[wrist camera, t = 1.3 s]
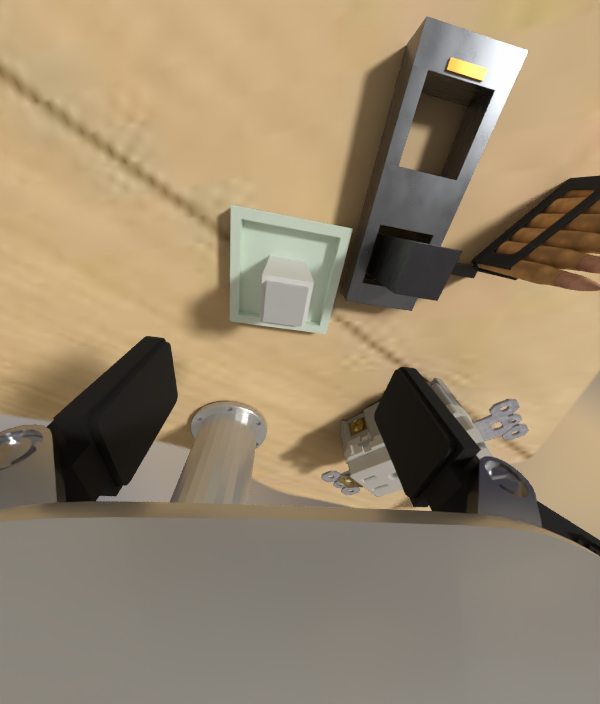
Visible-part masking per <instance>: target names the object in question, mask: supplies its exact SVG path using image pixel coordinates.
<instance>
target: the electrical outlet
mask: <svg viewBox="0 0 600 704" xmlns="http://www.w3.org/2000/svg"><path fill="white" fill-rule="evenodd" d="M426 382H427V381H426ZM427 383H428V384H429V386H430V387H431V388H432V389H433V391H434V392H435V393H436V394H437V396H438V397H439V398H440V399H441V401H442V402H443V403H444V404H445V405H446V407H447V408H448V409H449V410H450V412H451V413H452V414H453V415H454V417H455V418H456V419H457V420H458V422H459V423H460V424H461V425H462V426H463V428H464V429H465V430H466V431H467V433H468V434H469V435H470V436H471V438H472V439H473V440H474V441H475V443H476V444H477V445H478V446H479V448H480V449H481V450H480V451H479V452H478V454H477V457H478V458H479V459H481V458H483V457H484V456H491V457H493V455H492V453H491V452H490V450H489V448H488V446H487V445H486V443H485V441H488V440H491V439H494V438H496V437H499V436H502V437H503V438H504V439H506V440H512V439H515V438H518V437H520V436H523V435H525V434H526V433H527V432H528V431H529V430H528V428H527V426H526V425H525V424H518V423H519V422H520V421H521V420H522V418H521V416H520V415H519V414H513V413H514V412H515V411H516V410H517V409H518V408H519V405H518V402H517V400H516V399H506V400H504V401H501V402H499V403H496V404H494V405H493V406H492V407H491V408H490V409H489V411H490V413H491V415H489V416H487V417H484V418H482V419H479V420H476V421H473V420H472V419H471V418H470V417H469V415H468V414H467V413H466V411H465V410H464V409H463V407H462V406H461V405H460V404H459V402H458V401H457V400H456V398H455V397H454V396H453V395H452V393H451V392H450V391H449V389H448V388H447V387H446V386H445V384H444V383H443V382H442V381H441V380H440V379H438V378H434V379H433V381H432V382H427ZM378 405H379V402H378V403H376V404H374V405H372V406H370V407H368V408H366V409H364V411H363V413H361V414H359V415H357V416H355V417H353V418H351V419H349V420H347V421H343V420H342V421H341V427H342V430H341V437H342V443H343V449H344V455H345V460H346V463H347V464H348V467H349V471H346V472H344V473H341V474H340V473H338V472H337V471H328V472H326V473H323V474H322V477H321V478H322V479H323V480H324V481H326V482H333V481H334V486H335V487H336V488H342V490H341V492H342V493H344V494H345V495H352V494H355V493H358V492H359V491H360V488H359V487H364V488H366V489H367V490H368V491H370V492H371V493H372V494H374V495H375V496H377V497H380V496H383V495H386V494H389V493H392V492H395V491H398V490H401V489H403V488H402V485H401V483H400V480H399V478H398V475H397V473H396V471H395V468H394V466H393V463H392V461H391V459H390V456H389V454H388V451H387V449H386V446H385V444H384V442H383V439H382V437H381V434H380V432H379V430H378V427H377V425H376V422H375V420H374V413H375V411H376V409H377V407H378ZM504 406H508V407H507V408H506V409H504V410H500V409H501V408H502V407H504ZM511 413H512V414H511ZM509 414H510V415H509ZM512 420H514V421H512ZM497 422H501V423H502V426H501V427H499V428H495V429H492V428H491V425H492V424H494V423H497ZM514 431H518V432H516V433H514V434H511V433H512V432H514ZM330 475H333V477H328V476H330ZM348 479H349V480H350V481H352V482H349V483H348V482H346V480H348ZM348 490H353V491H348Z"/></svg>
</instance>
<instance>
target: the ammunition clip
mask: <svg viewBox="0 0 600 704" xmlns="http://www.w3.org/2000/svg"><path fill="white" fill-rule="evenodd" d="M586 253H596V254H600V176H590V177H579V178H570V179H568V180H567V181H566V182H565V183H564V184H562V185H561V186H560V187H559V188H558V189H556V190H555V191H554V192H553V193H552V194H550V195H549V196H548V197H547V198H546V199H544V200H543V201H542V202H541V203H540V204H538V205H537V206H536V207H535V208H534V209H532V210H531V211H530V212H529V213H528V214H526V215H525V216H524V217H523V218H522V219H520V220H519V221H518V222H517V223H516V224H514V225H513V226H512V227H511V228H510V229H508V230H507V231H506V232H505V233H504V234H502V235H501V236H500V237H499V238H498V239H496V240H495V241H494V242H493V243H492V244H490V245H489V246H488V247H487V248H486V249H484V250H483V251H482V252H481V253H480V254H478V255H477V256H476V257H475V258H474V259H473V260H472V262H473V264H474V265H475V267H478V268H479V270H478V271H479V272H483V273H488V274H492V275H496V276H500V277H505V278H509V279H513V280H517V279H522V280H526V281H529V282H533V283H537V284H545V285H551V286H556V287H557V286H558V287H562V288H566V289H571V290H578V291H598V290H600V284H598V283H597V282H595V281H593V280H591V279H589V278H587V277H584V276H581V275H577V274H573V273H569V272H566V271H563V270H559V269H570V270H576V271H585V272H590V273H600V257H599V256H593V255H589V254H586Z"/></svg>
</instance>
